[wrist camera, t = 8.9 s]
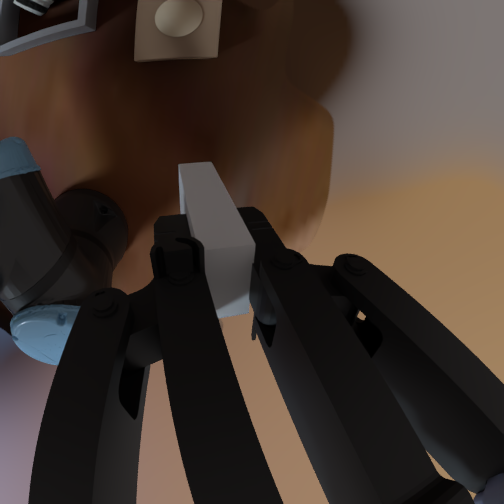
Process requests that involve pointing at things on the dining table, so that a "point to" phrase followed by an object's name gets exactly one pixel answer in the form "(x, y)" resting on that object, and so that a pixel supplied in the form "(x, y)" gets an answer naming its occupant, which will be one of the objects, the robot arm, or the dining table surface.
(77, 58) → the dining table surface
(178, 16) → the beige slotted holder
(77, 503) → the robot arm
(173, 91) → the dining table surface
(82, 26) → the caddy
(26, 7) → the camera
